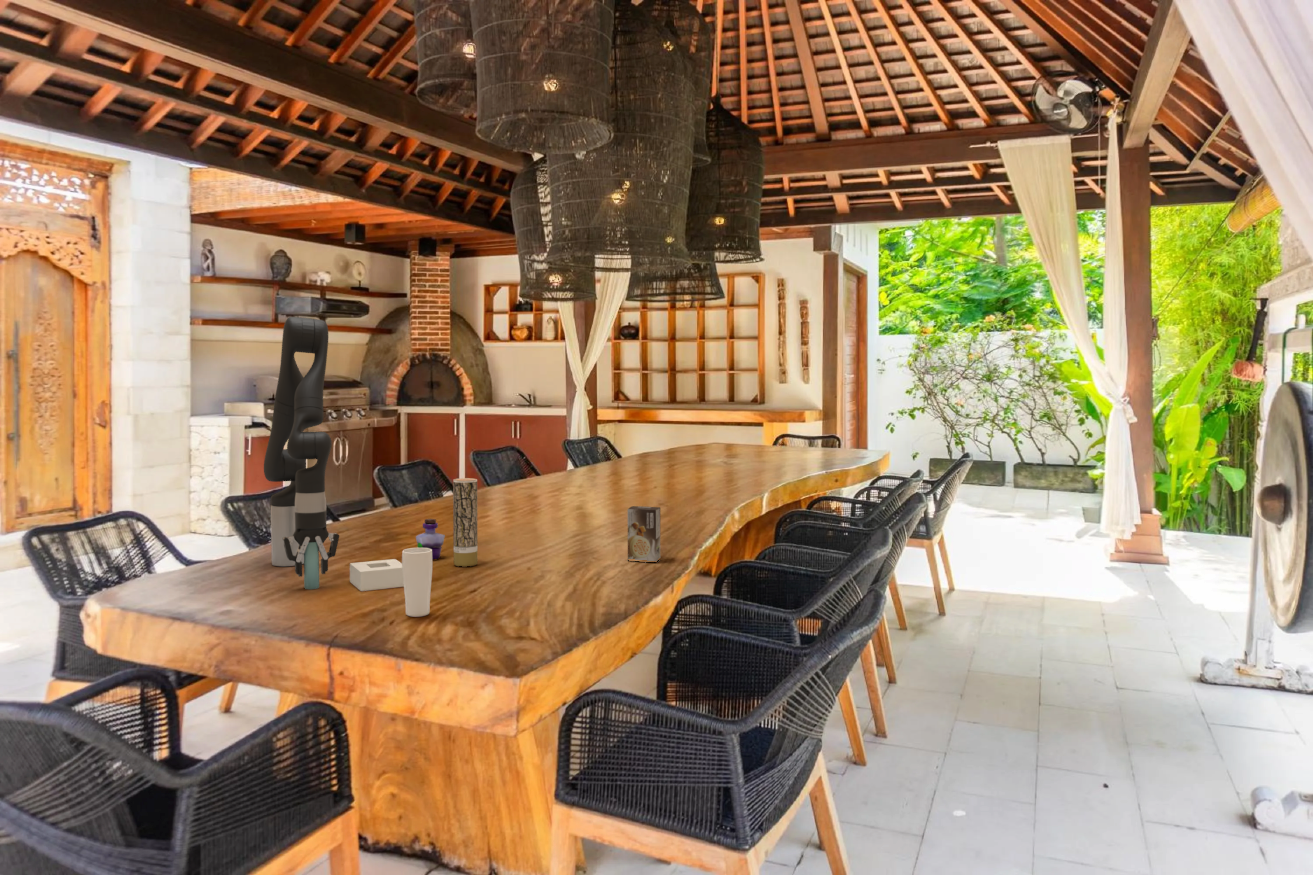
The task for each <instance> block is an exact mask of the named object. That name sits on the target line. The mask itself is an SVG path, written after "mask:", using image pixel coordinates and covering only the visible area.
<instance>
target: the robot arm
mask: <svg viewBox="0 0 1313 875" xmlns="http://www.w3.org/2000/svg"><path fill="white" fill-rule="evenodd" d="M328 346H329V327H328V324H327V322H326V320H323V319H316V318H309V317H299V316H288V318H286V320H285V322H284V326H283V330H282V340H281V353H280V354H281V356H280V366H279V374H278V379H277V386H276V392H275V396H274V402H273V404H274V405H273V412H272V413H273V414H272V422H271V428H270V434H269V438H268V442H267V447H266V451H265V455H264V461H263V473H264V474H263V475H264V477H265V479H266V480H267V481H269V482H274V483H277V482H279V483H280V482H290V484H289V485H288V486H287V487H286V488H284V489H283V490H280V491H278V492H276V493H273V494H272V495H271V497H270V528H271V529H270V534H271V536H270V537H271V538H270V539H271V540H270V541H271V542H270V543H271V544H270V546H271V565H272V566H275V567H293V566H294V571H295V572H294V573H295V574H296V575H297V576H298V577H303V565H304V553H305V550H306V547H307V545H308V543H310V542H317V545H318V548H319V555H320V557H321V558H320V573H321V575H326V573H327V572H328V570H329V559H330V558H332V557H335V556H336V554H337V549H338V546H339V545H338V544H339V540H340V535H339V533H337V532H329V531H328V529H327V499H326V484H325V481H326V478H325V476H326V469H327V464H328V460H329V457H330V453H331V449H332V446H333V443H332V442H333V441H332V438H331V437H330V435H329V433H327V432H326V431H305V430H306V429H309V428H313V427H317V426H319V425H321V424H322V423H323V422H324V386H325V378H326V369H327V360H328V358H327V357H328V352H329V351H328V349H329V347H328ZM295 353H303V354H304V353H305V354H314V358H313V362H312V364H311V366H310V368H309V370H308V371H307V372H306V374H305V375H304V376H303V374H302V372H301V371H300V369H299V367H298V364H297V362H296V358H295ZM286 444H287V445H286ZM285 445H286V448H285ZM307 460H316V463H315V464H314V465H313V466H310V467H309V466H308V467H307ZM327 538H328V539H329V540H328V541H330V545H329V550H328V551H326V548H325V546H324V543H325V542H326V540H327Z"/></svg>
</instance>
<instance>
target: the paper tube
mask: <svg viewBox="0 0 1313 875" xmlns="http://www.w3.org/2000/svg"><path fill="white" fill-rule="evenodd" d="M452 485H453V486H452V488H453V489H452V490H453V492H452V495H453V497H452V501H453V502H452V504H453V506H452V509H453V511H452V512H453V514H452V515H453V517H452V518H453V526H452V527H453V531H452V532H453V533H452V534H453V537H452V538H453V564H454V566H456V567H459V566H462V567H461V568H467V566H470V567H474V566H476V565H477V564H478V479H477V478H469V477H464V478H463V477H462V478H454V479H453V480H452Z"/></svg>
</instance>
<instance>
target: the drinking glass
mask: <svg viewBox="0 0 1313 875" xmlns="http://www.w3.org/2000/svg"><path fill="white" fill-rule="evenodd" d="M401 553H402V554H401V563H402V573H403V583H404V587H403V593H404V600H405V601H404V604H405V615H406V616H408V617H414V618H420V617H425V616H428V615H429V614H430V611H431V610H430V606H431V604H430V603H431V589H432V578H433V560H432V549H429V548H418V547H410V548H404V549H403V550H402V552H401Z"/></svg>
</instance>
